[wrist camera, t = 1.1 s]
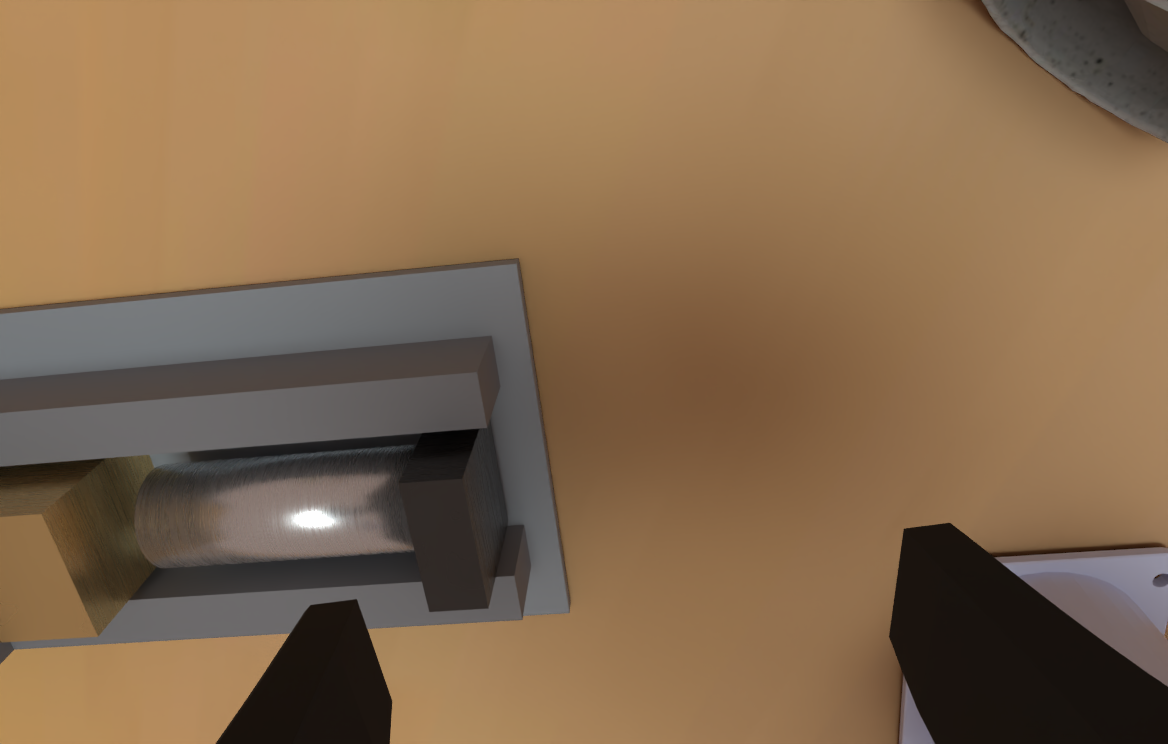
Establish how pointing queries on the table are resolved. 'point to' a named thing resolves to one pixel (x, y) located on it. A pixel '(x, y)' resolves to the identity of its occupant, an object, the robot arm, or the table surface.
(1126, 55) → the ceramic mug
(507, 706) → the table surface
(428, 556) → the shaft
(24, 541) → the block
